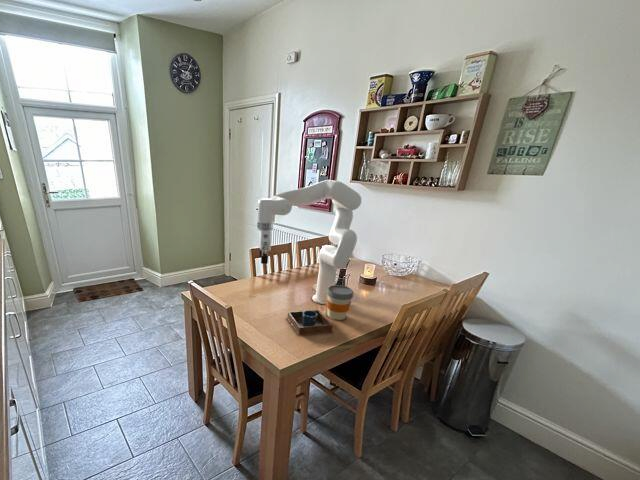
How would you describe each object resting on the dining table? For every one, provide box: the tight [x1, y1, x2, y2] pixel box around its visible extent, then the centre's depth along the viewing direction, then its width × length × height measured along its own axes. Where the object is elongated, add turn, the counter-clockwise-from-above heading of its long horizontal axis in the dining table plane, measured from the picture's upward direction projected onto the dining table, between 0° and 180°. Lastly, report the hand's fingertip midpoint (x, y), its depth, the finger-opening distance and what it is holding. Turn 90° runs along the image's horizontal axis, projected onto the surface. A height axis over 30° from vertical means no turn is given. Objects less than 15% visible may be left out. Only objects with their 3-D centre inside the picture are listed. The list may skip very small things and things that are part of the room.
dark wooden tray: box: [287, 309, 333, 335], centre depth 159 cm, size 16×16×4 cm
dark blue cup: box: [302, 309, 318, 327], centre depth 158 cm, size 7×7×6 cm
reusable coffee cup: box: [326, 284, 354, 321], centre depth 166 cm, size 13×13×15 cm
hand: (263, 260), depth 163 cm, fingers open, 9 cm apart
